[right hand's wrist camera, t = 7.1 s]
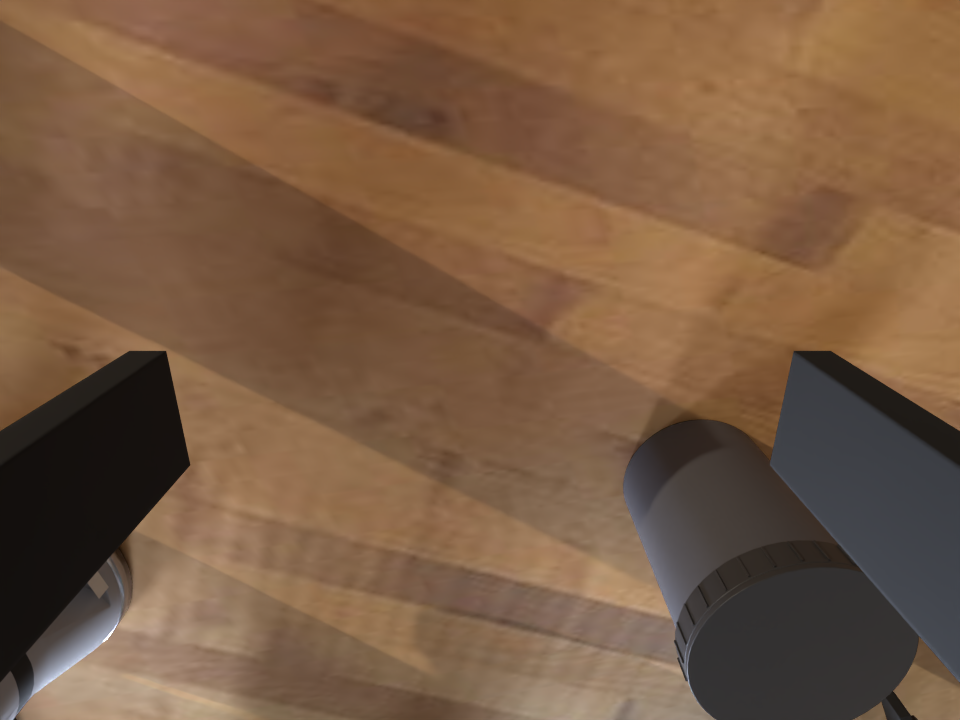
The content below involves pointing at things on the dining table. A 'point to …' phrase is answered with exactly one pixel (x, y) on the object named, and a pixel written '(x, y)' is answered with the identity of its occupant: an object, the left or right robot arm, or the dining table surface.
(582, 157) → the dining table surface
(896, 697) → the left robot arm
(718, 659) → the lid
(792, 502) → the jar
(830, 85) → the dining table surface
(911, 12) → the dining table surface
